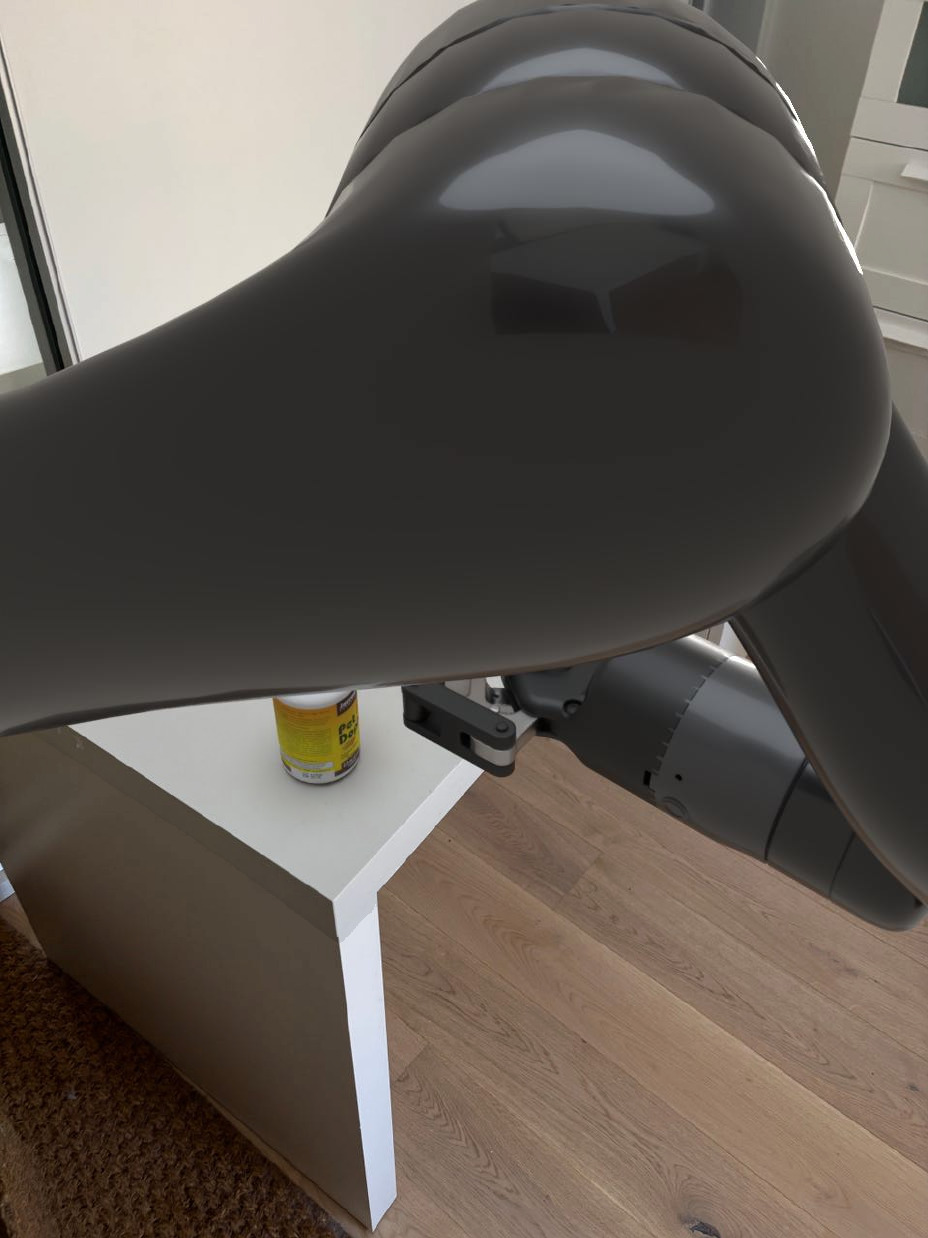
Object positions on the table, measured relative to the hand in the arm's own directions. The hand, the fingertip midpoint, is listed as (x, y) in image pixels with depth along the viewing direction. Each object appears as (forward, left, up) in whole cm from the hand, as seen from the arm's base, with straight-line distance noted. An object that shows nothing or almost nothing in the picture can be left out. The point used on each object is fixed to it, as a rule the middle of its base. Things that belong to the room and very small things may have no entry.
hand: (429, 591), depth 50 cm
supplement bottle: (-4, +9, -20) cm, 23 cm away
